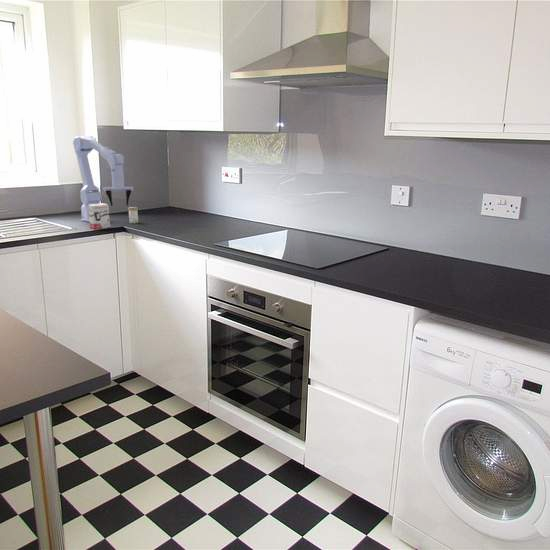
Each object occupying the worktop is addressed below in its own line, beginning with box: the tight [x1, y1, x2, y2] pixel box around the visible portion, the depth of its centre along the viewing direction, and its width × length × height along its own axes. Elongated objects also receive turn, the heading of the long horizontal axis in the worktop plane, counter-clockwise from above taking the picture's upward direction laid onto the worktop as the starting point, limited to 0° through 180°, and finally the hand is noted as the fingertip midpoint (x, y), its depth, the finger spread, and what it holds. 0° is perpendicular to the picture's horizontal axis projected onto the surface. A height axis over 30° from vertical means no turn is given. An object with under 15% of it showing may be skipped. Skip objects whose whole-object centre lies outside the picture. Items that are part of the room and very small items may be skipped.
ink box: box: [88, 202, 111, 230], centre depth 263 cm, size 8×5×12 cm, turn 134°
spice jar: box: [127, 206, 139, 224], centre depth 279 cm, size 5×5×8 cm
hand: (119, 205), depth 271 cm, fingers open, 7 cm apart
